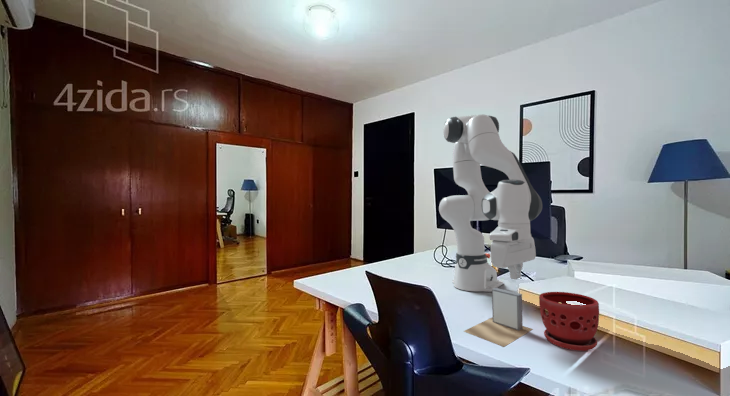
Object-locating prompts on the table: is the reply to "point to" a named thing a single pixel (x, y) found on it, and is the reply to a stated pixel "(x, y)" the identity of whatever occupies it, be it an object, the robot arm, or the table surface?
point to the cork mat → (496, 332)
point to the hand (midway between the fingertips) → (515, 278)
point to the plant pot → (570, 320)
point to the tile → (507, 308)
